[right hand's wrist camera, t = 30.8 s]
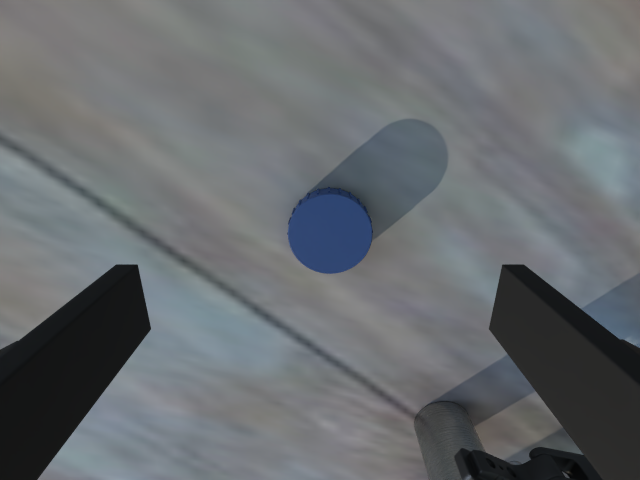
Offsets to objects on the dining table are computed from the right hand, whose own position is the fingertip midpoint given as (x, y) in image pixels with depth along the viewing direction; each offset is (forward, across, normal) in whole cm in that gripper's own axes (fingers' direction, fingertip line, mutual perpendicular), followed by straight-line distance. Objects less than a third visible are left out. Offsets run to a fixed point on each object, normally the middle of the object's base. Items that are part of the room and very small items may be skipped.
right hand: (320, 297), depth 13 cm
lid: (+9, +1, -1) cm, 9 cm away
